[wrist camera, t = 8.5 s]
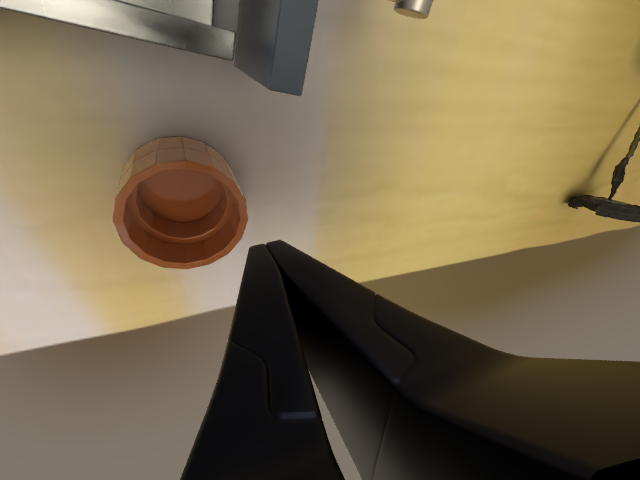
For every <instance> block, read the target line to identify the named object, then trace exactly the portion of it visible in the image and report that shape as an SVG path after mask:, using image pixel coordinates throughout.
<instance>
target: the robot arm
mask: <svg viewBox="0 0 640 480" xmlns="http://www.w3.org/2000/svg"><path fill="white" fill-rule="evenodd" d="M308 369H309V370H308ZM309 371H310V373H311V375H312V377H313V379H314V381H315V384H316V386H317V388H318V390H319V392H320V394H321V396H322V398H323V400H324V402H325V404H326V406H327V408H328V410H329V412H330V414H331V416H332V418H333V420H334V422H335V425H336V427H337V429H338V431H339V432H340V435H341V437H342V439H343V441H344V443H345V445H346V447H347V449H348V451H349V453H350V455H351V457H352V459H353V461H354V463H355V465H356V467H357V470H358V472H359V473H360V476H361V478H362V480H640V362H633V361H607V360H604V361H603V360H581V359H554V358H532V357H523V356H517V355H513V354H509V353H505V352H502V351H499V350H496V349H493V348H491V347H488V346H486V345H484V344H482V343H479V342H477V341H475V340H472V339H470V338H468V337H466V336H464V335H461V334H459V333H457V332H455V331H452V330H450V329H448V328H445V327H443V326H441V325H439V324H437V323H434V322H432V321H430V320H428V319H426V318H424V317H421V316H419V315H417V314H415V313H413V312H411V311H409V310H407V309H405V308H403V307H401V306H399V305H397V304H395V303H393V302H392V301H390V300H388V299H386V298H384V297H383V296H381V295H379V294H376V295H375V292H373V291H372V290H370V289H368V288H366V287H364V286H363V285H361V284H359V283H357V282H355V281H354V280H352V279H350V278H348V277H346V276H345V275H343V274H341V273H339V272H337V271H336V270H334V269H332V268H330V267H329V266H327V265H325V264H323V263H321V262H320V261H318V260H316V259H314V258H312V257H311V256H309V255H307V254H305V253H303V252H302V251H300V250H298V249H296V248H294V247H293V246H291V245H289V244H287V243H285V242H284V241H282V240H277V241H273V242H268V243H267V244H266V245H265V244H260V245H255V246H251V247H250V248H249V251H248V256H247V260H246V264H245V269H244V273H243V277H242V282H241V286H240V290H239V295H238V299H237V303H236V308H235V312H234V317H233V321H232V325H231V329H230V334H229V338H228V342H227V346H226V350H225V354H224V358H223V362H222V366H221V369H220V373H219V377H218V380H217V383H216V386H215V389H214V391H213V394H212V397H211V400H210V403H209V406H208V409H207V411H206V414H205V416H204V419H203V421H202V424H201V427H200V429H199V432H198V434H197V437H196V440H195V442H194V445H193V447H192V450H191V453H190V455H189V458H188V461H187V463H186V466H185V468H184V471H183V473H182V476H181V479H180V480H345V479H344V476H343V474H342V472H341V470H340V468H339V466H338V463H337V461H336V459H335V457H334V454H333V452H332V449H331V446H330V443H329V440H328V437H327V434H326V430H325V427H324V424H323V421H322V416H321V413H320V409H319V406H318V403H317V399H316V395H315V392H314V388H313V385H312V381H311V377H310V374H309Z"/></svg>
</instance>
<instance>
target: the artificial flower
mask: <svg viewBox="0 0 640 480" xmlns="http://www.w3.org/2000/svg"><path fill="white" fill-rule="evenodd" d="M639 136H640V127H639V129H638V131H637V132H636V134H635V137H634V140H633V141H632V143H631V145H630V148H629V152H628V154H627V155H626V157H625V158H623V159H622V160H621V162H620V163H619V164H618V165H617V166H615V170H614V172H613V178H612V182H611V184H612V188H611V194H610V196H609V198H608V199H606V198H605V197H594V196H591V195H585V196H580V197H577V198H573V199H572V200H571V202H569V203H568V206H570V207H572V208H575V209H577V208H576V207H583V206H584V207H586V208H588V209H590V210H592V211H595V212H596V213H595V214H596V215H599V216H604V217H609V218H613V219H614V218H615V219H618V220H625V221H632V222H640V206H637V205H631V204H626V203H624V202H619V201H615V200H611V199H612V197H613V196H614V194H615V193H616V190H617V188H618V187H619V185H620V184H621V182H623V180H624V175H625V167H626V165H627V164H628V161H629V159H630V157H631V156H633V155H634V151H635V149H636V148H637V145H638V142H639V141H640V137H639ZM596 210H597V211H596Z"/></svg>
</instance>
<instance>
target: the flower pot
mask: <svg viewBox="0 0 640 480" xmlns="http://www.w3.org/2000/svg"><path fill="white" fill-rule="evenodd" d="M247 221H248V215H247V207H246V200H245V197H244V195H243V193H242V191H241V189H240V187H239V184H238V182H237V180H236V178H235V176H234V174H233V172H232V170H231V168H230V167H229V165H228V164H227V162H226V160H225V159H224V157H223V156H222V155H221V154H219V153H218V152H217V151H215V150H214V149H213V148H211V147H210V146H208V145H207V144H206V143H204V142H200V141H197V140H193V139H190V138H186V137H181V136H178V137H167V138H158V139H155V140H153V141H151V142H149V143H147V144H145V145H143V146H142V147H140V148H138V149H137V150H136V151H135V152H134V153H133V155H132V156H131V157H130V159H129V160H128V161H127V163H126V164H125V165H124V168H123V171H122V175H121V179H120V183H119V187H118V191H117V195H116V199H115V207H114V215H113V222H114V224H115V227H116V229H117V232H118V234H119V236H120V239H121V241H122V242H123V244H125V245H126V246H127V247H128V248H129V249H130V250H131V251H132V252H133V253H135V254H136V255H137V256H138V257H139V258H141V259H143V260H145V261H148V262H150V263H153V264H155V265H158V266H161V267H164V268H178V269H190V268H194V267H199V266H204V265H208V264H211V263H213V262H214V261H216V260H218V259H220V258H221V257H223V256H225V255H227V254H228V253H229V252H230V251H231V250H232V249H233V248H234V247H235V245H236V244H237V243H238V242H239V241H240V240H241V238H242V236H243V233H244V230H245V227H246V224H247Z"/></svg>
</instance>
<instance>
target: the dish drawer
mask: <svg viewBox="0 0 640 480" xmlns="http://www.w3.org/2000/svg"><path fill="white" fill-rule="evenodd" d="M389 1H392V2H396V3H395V6H394V10H395V11H396V12H397V13H399V14H402V15H405V16H408V17H412V18H418V19H425V18H427V17H428V15H429V12H430V8H431V5H432V2H433V0H389ZM317 6H318V0H240V3H239V16H238V29H237V41H236V54H235V67H236V68H238V69H239V70H241V71H242V72H244V73H245V74H247V75H248V76H250V77H251V78H253V79H254V80H256V81H257V82H259V83H260V84H262V85H263V86H265V87H266V88H268V89H269V90H272V91H277V92H282V93H287V94H292V95H297V96H301V95H302V89H303V84H304V78H305V73H306V67H307V62H308V56H309V50H310V45H311V39H312V34H313V28H314V22H315V17H316V11H317ZM0 9H5V10H9V11H14V12H18V13H22V14H27V15H31V16H36V17H40V18H44V19H49V20H53V21H58V22H62V23H66V24H71V25H75V26H80V27H84V28H88V29H93V30H97V31H102V32H106V33H110V34H115V35H119V36H124V37H128V38H133V39H137V40H141V41H146V42H150V43H155V44H159V45H163V46H168V47H172V48H177V49H181V50H185V51H190V52H194V53H199V54H203V55H207V56H212V57H216V58H221V59H225V60H229V61H233V59H234V46H235V32H234V31H231V30H227V29H223V28H220V27H216V26H213V15H214V0H0Z"/></svg>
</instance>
